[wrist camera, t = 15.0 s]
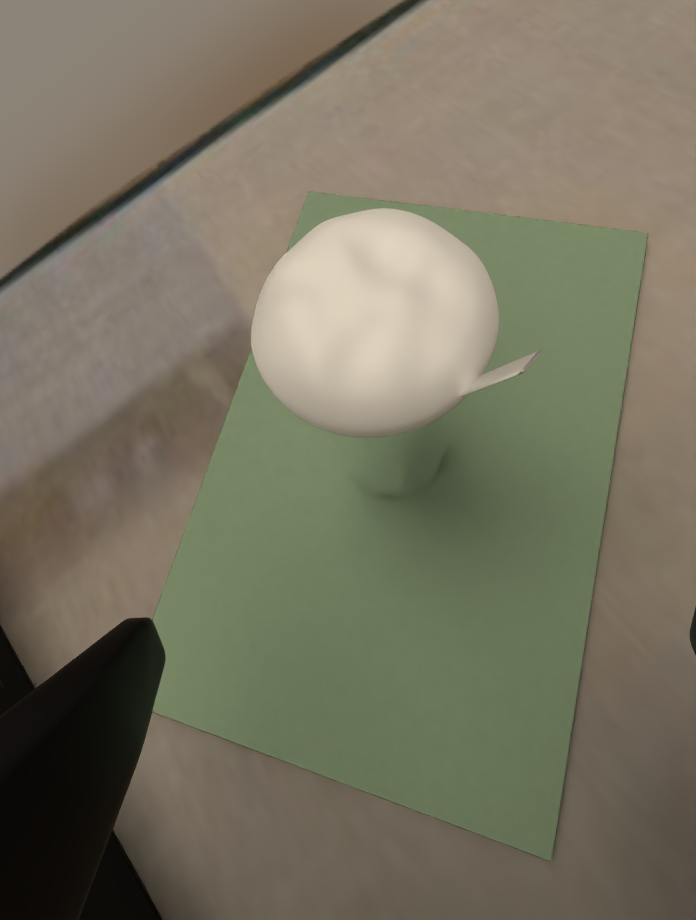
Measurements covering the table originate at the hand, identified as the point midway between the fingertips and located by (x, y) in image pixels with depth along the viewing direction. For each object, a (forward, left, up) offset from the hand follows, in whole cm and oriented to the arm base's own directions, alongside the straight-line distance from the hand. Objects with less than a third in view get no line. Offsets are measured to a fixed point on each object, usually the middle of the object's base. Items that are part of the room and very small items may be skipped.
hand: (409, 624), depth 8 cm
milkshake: (+3, +4, -7) cm, 9 cm away
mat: (+3, +5, -8) cm, 9 cm away
